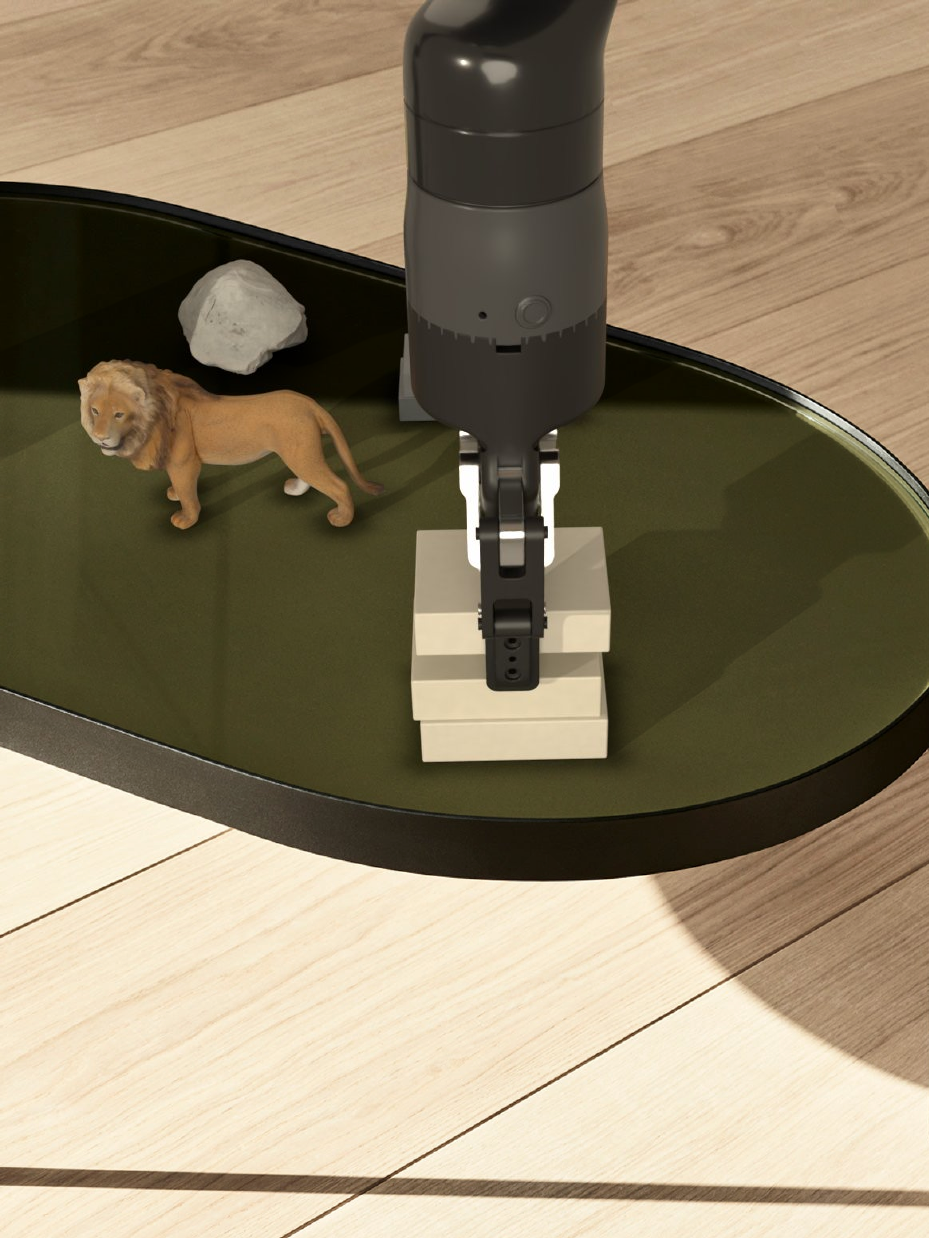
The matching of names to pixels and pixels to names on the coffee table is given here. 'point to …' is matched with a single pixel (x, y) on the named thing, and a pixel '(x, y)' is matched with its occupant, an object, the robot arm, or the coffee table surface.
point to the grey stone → (240, 317)
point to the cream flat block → (456, 591)
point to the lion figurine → (212, 433)
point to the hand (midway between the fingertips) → (511, 636)
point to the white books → (509, 709)
